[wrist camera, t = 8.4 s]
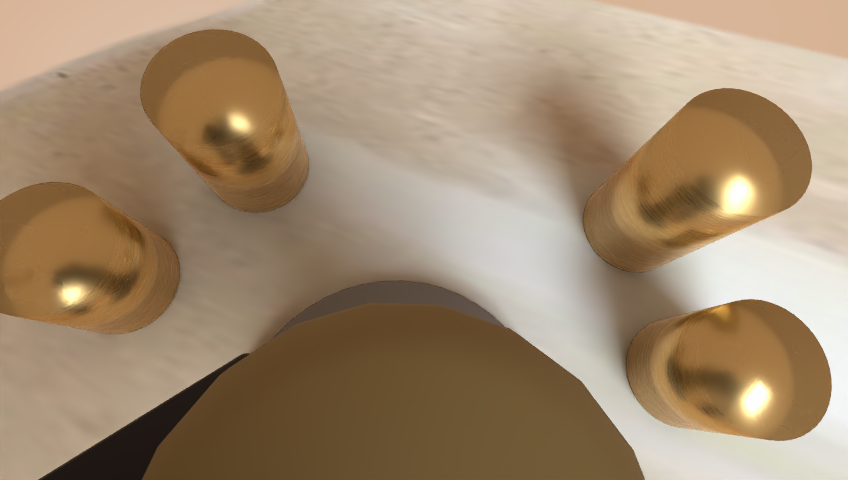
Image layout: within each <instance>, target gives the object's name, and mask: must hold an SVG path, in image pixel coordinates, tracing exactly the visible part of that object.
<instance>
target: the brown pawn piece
mask: <svg viewBox="0 0 848 480" xmlns="http://www.w3.org/2000/svg"><path fill="white" fill-rule="evenodd" d="M142 480H645V478H644V476H643V473H642V471H641V468H640V466H639V463H638V461H637V458H636V456H635V453H634V451H633V449H632V448H631V446H630V445H629V444H628V443H627V441H626V440H625V439H624V437H623V436H622V435H621V433H620V432H619V431H618V429H617V428H616V427H615V425H614V424H613V423H612V421H611V420H610V419H609V417H608V416H607V415H606V413H605V412H604V411H603V409H602V408H601V407H600V405H599V404H598V403H597V402H596V400H595V399H594V398H593V396H592V395H591V394H590V392H589V391H588V390H587V388H586V387H585V386H584V384H583V383H582V382H581V381H580V380H579V379H578V378H576V377H575V376H574V375H572V374H571V373H569V372H568V371H567V370H565V369H564V368H563V367H561V366H560V365H559V364H557V363H556V362H555V361H553V360H552V359H551V358H549V357H548V356H547V355H545V354H544V353H543V352H541V351H540V350H539V349H537V348H536V347H535V346H533V345H532V344H530V343H529V342H528V341H526V340H525V339H524V338H522V337H521V336H520V335H518V334H517V333H515V332H514V331H512V330H511V329H509V328H506V327H503V326H500V325H498V324H495V323H492V322H489V321H486V320H483V319H480V318H478V317H475V316H472V315H469V314H466V313H463V312H460V311H458V310H455V309H452V308H449V307H446V306H443V305H435V304H397V303H366V304H363V305H359V306H356V307H353V308H349V309H346V310H342V311H339V312H335V313H332V314H328V315H325V316H322V317H318V318H315V319H311V320H308V321H304V322H301V323H297V324H296V325H294V326H293V327H291V328H289V329H288V330H286V331H285V332H283V333H282V334H280V335H279V336H277V337H276V338H274V339H273V340H271V341H270V342H268V343H266V344H265V345H263V346H262V347H260V348H259V349H257V350H256V351H254V352H253V353H251V354H250V355H248V356H247V357H245V358H243V359H242V360H240V361H239V362H237V363H236V364H234V365H233V366H231V367H230V368H228V369H227V370H226V371H224V372H223V373H222V374H220V375H219V376H218V378H217V379H216V380H215V381H214V382H213V383H212V385H211V386H210V387H209V388H208V389H207V390H206V391H205V393H204V394H203V395H202V396H201V397H200V398H199V400H198V401H197V402H196V403H195V404H194V405H193V406H192V408H191V409H190V410H189V411H188V412H187V413H186V415H185V416H184V417H183V418H182V419H181V420H180V421H179V423H178V424H177V425H176V426H175V427H174V428H173V430H172V431H171V432H170V433H169V434H168V435H167V436H166V438H165V439H164V440H163V441H162V442H161V443H160V445H159V446H158V447H157V449H156V451H155V453H154V456H153V458H152V460H151V462H150V464H149V466H148V468H147V470H146V472H145V474H144V476H143V478H142Z"/></svg>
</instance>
